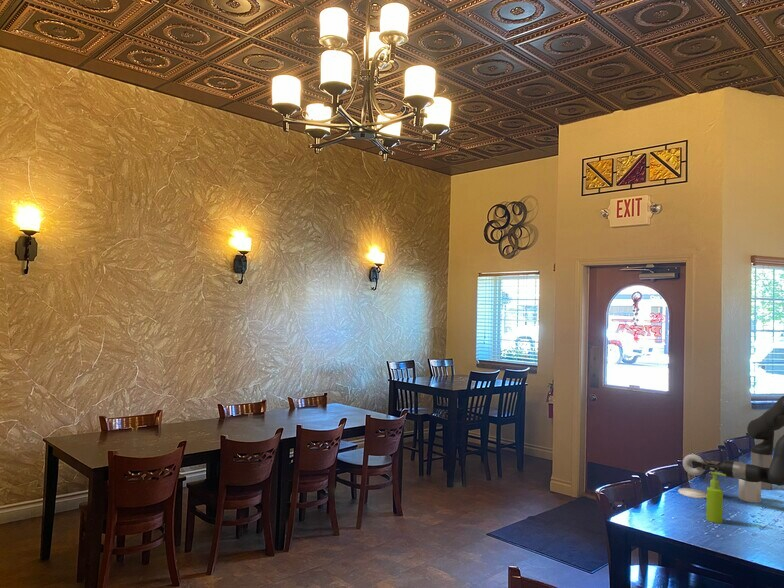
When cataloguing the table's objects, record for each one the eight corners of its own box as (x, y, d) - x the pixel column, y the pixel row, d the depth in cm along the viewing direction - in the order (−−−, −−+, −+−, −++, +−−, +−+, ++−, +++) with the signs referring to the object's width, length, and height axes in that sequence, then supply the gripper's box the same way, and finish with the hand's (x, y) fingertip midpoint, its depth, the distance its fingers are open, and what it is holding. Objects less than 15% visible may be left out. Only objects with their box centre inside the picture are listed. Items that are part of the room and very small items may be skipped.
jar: (754, 504, 261) (754, 477, 262) (735, 498, 268) (736, 473, 268) (763, 501, 266) (764, 475, 267) (745, 496, 273) (745, 470, 273)
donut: (706, 476, 271) (706, 455, 271) (704, 478, 268) (704, 456, 269) (683, 472, 277) (683, 451, 278) (681, 473, 275) (681, 453, 275)
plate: (682, 488, 282) (682, 485, 282) (711, 494, 273) (712, 492, 273) (674, 493, 272) (674, 491, 272) (704, 500, 264) (704, 498, 264)
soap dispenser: (725, 525, 233) (725, 475, 233) (705, 521, 236) (706, 472, 237) (725, 520, 238) (726, 472, 238) (706, 517, 241) (707, 469, 242)
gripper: (738, 459, 267) (698, 452, 278) (731, 464, 256) (690, 457, 268) (738, 475, 266) (698, 468, 278) (731, 481, 256) (690, 473, 268)
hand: (694, 462), depth 273 cm, fingers closed on donut, 3 cm apart
